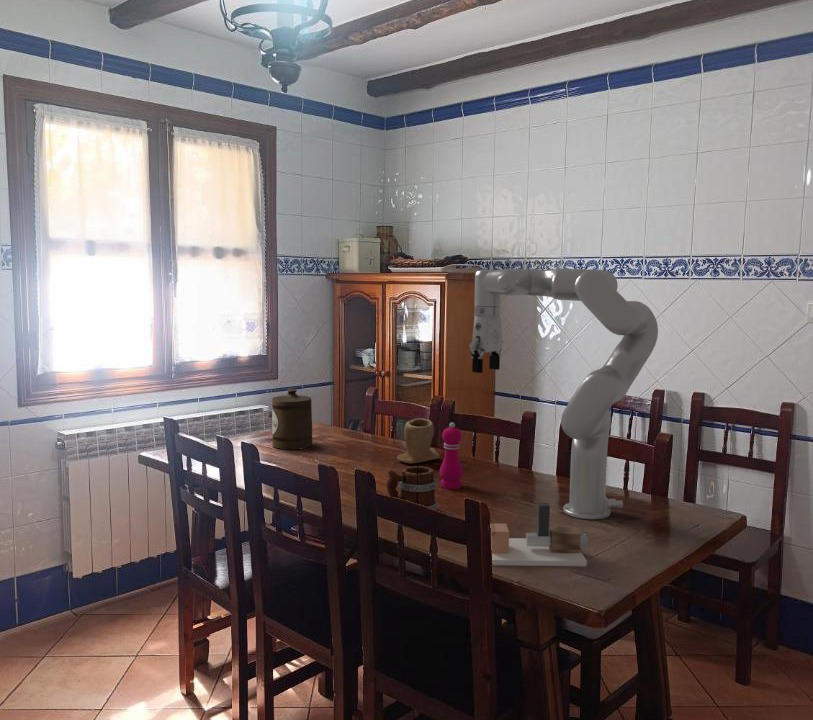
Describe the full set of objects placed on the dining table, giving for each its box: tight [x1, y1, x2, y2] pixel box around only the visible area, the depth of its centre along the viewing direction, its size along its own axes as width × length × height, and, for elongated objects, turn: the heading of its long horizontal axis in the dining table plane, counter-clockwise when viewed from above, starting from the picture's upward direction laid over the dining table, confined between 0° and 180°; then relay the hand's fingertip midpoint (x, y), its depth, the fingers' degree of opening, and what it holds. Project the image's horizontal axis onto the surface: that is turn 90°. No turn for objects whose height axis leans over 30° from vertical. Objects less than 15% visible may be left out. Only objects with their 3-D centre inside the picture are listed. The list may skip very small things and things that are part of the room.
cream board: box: [492, 537, 588, 567], centre depth 174 cm, size 22×14×1 cm, turn 90°
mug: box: [386, 465, 439, 511], centre depth 202 cm, size 12×14×15 cm
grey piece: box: [525, 502, 589, 548], centre depth 173 cm, size 14×2×10 cm, turn 90°
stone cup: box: [396, 417, 440, 464], centre depth 257 cm, size 15×12×15 cm
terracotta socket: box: [489, 522, 510, 553], centre depth 173 cm, size 4×6×5 cm
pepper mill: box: [439, 422, 464, 490], centre depth 227 cm, size 7×7×20 cm
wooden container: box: [271, 387, 313, 450], centre depth 279 cm, size 15×15×22 cm
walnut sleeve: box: [549, 526, 581, 553], centre depth 173 cm, size 6×5×5 cm
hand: (486, 370), depth 218 cm, fingers open, 9 cm apart
